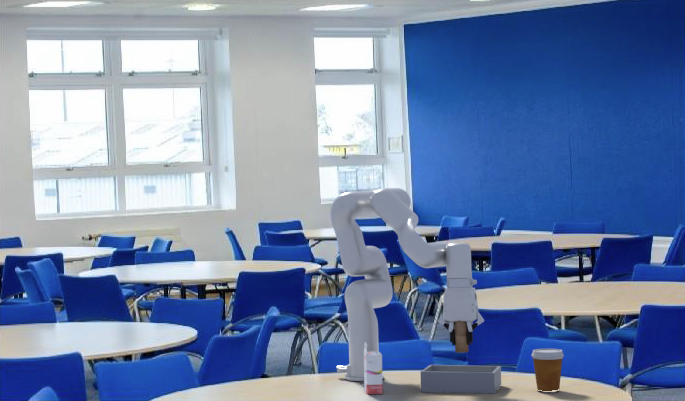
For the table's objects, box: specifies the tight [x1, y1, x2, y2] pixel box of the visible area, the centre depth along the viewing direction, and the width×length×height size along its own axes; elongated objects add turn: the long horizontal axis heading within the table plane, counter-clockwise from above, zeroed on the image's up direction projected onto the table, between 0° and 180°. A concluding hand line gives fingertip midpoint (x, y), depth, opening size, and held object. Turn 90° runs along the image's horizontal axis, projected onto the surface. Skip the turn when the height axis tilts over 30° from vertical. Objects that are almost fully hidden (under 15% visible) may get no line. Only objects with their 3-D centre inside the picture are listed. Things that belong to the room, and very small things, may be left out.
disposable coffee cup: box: [530, 348, 565, 391], centre depth 359 cm, size 10×10×12 cm
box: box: [420, 364, 502, 394], centre depth 367 cm, size 22×14×6 cm, turn 75°
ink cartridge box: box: [363, 343, 384, 395], centre depth 365 cm, size 9×5×15 cm, turn 5°
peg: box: [454, 320, 470, 354], centre depth 367 cm, size 4×4×10 cm
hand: (461, 344), depth 367 cm, fingers closed on peg, 4 cm apart
